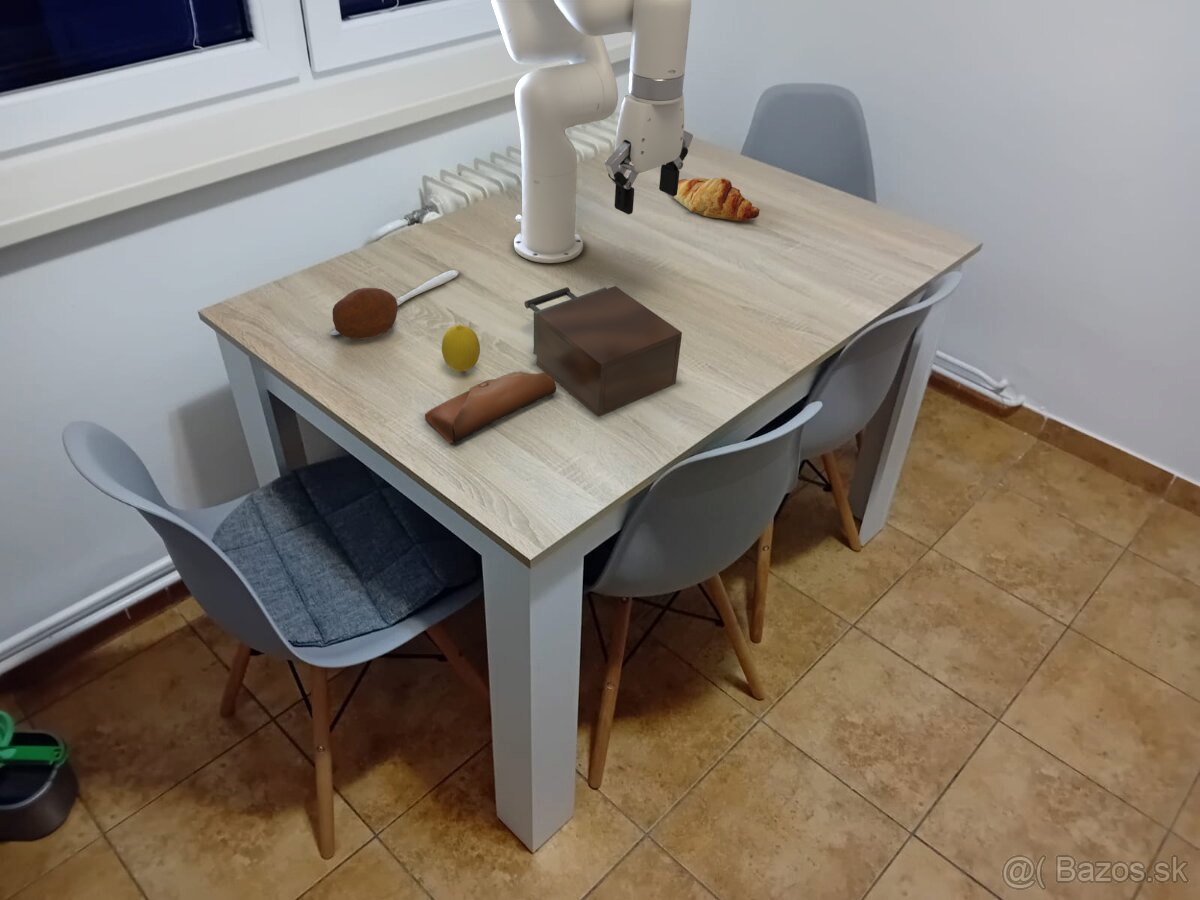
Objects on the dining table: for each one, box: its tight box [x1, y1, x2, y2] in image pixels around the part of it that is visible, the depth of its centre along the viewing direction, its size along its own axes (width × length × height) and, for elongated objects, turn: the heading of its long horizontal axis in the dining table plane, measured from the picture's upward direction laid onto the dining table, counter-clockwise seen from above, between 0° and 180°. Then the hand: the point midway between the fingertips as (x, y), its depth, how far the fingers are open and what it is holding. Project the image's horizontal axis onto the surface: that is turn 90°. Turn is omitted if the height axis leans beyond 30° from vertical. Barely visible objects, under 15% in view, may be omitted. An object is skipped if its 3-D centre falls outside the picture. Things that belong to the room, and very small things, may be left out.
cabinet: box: [536, 285, 683, 418], centre depth 134 cm, size 16×15×9 cm
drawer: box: [523, 286, 608, 356], centre depth 137 cm, size 21×13×7 cm, turn 37°
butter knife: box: [329, 269, 459, 336], centre depth 149 cm, size 1×27×3 cm
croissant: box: [673, 177, 761, 222], centre depth 180 cm, size 21×10×8 cm
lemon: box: [441, 324, 481, 373], centre depth 133 cm, size 6×6×8 cm
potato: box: [332, 287, 399, 340], centre depth 140 cm, size 8×11×8 cm
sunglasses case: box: [424, 371, 557, 445], centre depth 128 cm, size 18×7×7 cm
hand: (646, 201), depth 136 cm, fingers open, 9 cm apart
